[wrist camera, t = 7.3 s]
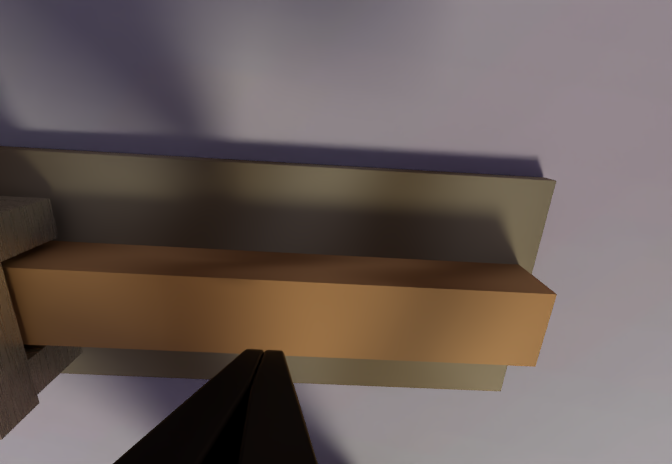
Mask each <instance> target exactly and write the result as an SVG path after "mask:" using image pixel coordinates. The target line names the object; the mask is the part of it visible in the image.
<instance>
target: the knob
mask: <svg viewBox="0 0 672 464" xmlns="http://www.w3.org/2000/svg"><path fill="white" fill-rule="evenodd" d="M57 237H58V233H57V229H56V224H55V219H54V215H53V210H52V205H51V200H50V198H33V197H15V196H0V440H2V439H3V438H4V437H5V436H6V435H7V434H8V433H9V432H10V431H11V430H12V429H13V428H14V427H15V426H16V425H17V424H18V423H19V422H20V421H21V420H22V419H24V418H25V417H26V416H27V415H28V414H29V413H30V412H31V411H32V410H33V409H34V408H35V407H36V406H37V405H38V404H39V399H38V396H37V395H38V394H39V393H40V392H41V391H42V390H43V389H44V388H45V387H46V386H47V385H48V384H49V383H50V382H51V381H53V380H54V379H55V378H56V377H57V376H58V375H59V374H60V373H61V372H62V371H63V370H64V369H65V368H66V367H67V366H69V365H70V364H71V363H72V362H73V361H74V360H75V359H76V358H77V357H78V356H79V355H80V354H81V353H82V352H83V351H82V347H73V346H49V345H26V344H23V341H22V338H21V334H20V331H19V327H18V323H17V320H16V316H15V313H14V309H13V305H12V302H11V298H10V294H9V291H8V287H7V284H6V280H5V276H4V273H3V269H2V265H1V262H2V261H4V260H6V259H9V258H11V257H13V256H16V255H18V254H20V253H23V252H25V251H27V250H29V249H32V248H34V247H36V246H39V245H41V244H43V243H46V242H48V241H50V240H52V239H55V238H57Z"/></svg>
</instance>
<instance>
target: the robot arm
mask: <svg viewBox="0 0 672 464" xmlns="http://www.w3.org/2000/svg"><path fill="white" fill-rule="evenodd" d="M113 464H318V463H317V460H316V456H315V453H314V450H313V446H312V443H311V440H310V437H309V433H308V430H307V427H306V423H305V420H304V417H303V414H302V410H301V407H300V404H299V400H298V397H297V394H296V391H295V387H294V384H293V381H292V377H291V374H290V371H289V368H288V364H287V361H286V358H285V354H284V352H283V351H282V350H266V351H265V352H264V350H262V349H246V350H244V351H243V352H242V353H241V354H239V355H238V356H237V357H236V358H235V359H234V360H232V361H231V362H230V363H229V364H228V365H227V366H225V367H224V368H223V369H222V370H221V371H220V372H219V373H217V374H216V375H215V376H214V377H213V378H212V379H210V380H209V381H208V382H207V383H206V384H205V385H203V386H202V387H201V388H200V389H199V390H198V391H197V392H195V393H194V394H193V395H192V396H191V397H190V398H188V399H187V400H186V401H185V402H184V403H183V404H181V405H180V406H179V407H178V408H177V409H176V410H175V411H173V412H172V413H171V414H170V415H169V416H168V417H166V418H165V419H164V420H163V421H162V422H161V423H159V424H158V425H157V426H156V427H155V428H154V429H153V430H151V431H150V432H149V433H148V434H147V435H146V436H144V437H143V438H142V439H141V440H140V441H139V442H137V443H136V444H135V445H134V446H133V447H132V448H131V449H129V450H128V451H127V452H126V453H125V454H124V455H122V456H121V457H120V458H119V459H118V460H117V461H115V462H114V463H113Z"/></svg>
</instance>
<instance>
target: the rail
mask: <svg viewBox="0 0 672 464" xmlns="http://www.w3.org/2000/svg"><path fill="white" fill-rule="evenodd" d="M555 184H556V181H555V180H551V179H548V178H543V177H525V176H508V175H491V174H473V173H456V172H439V171H422V170H404V169H387V168H370V167H352V166H335V165H318V164H301V163H283V162H266V161H249V160H232V159H214V158H197V157H180V156H162V155H145V154H128V153H111V152H93V151H76V150H59V149H41V148H24V147H7V146H0V196H15V197H33V198H50V200H51V205H52V210H53V215H54V219H55V224H56V229H57V233H58V237H57V238H55V239H52V240H50V241H48V242H46V243H43V244H41V245H39V246H36V247H34V248H32V249H29V250H27V251H25V252H23V253H20V254H18V255H16V256H13V257H11V258H9V259H6V260H4V261H2V262H1V265H2V269H3V273H4V276H5V280H6V284H7V287H8V291H9V294H10V298H11V302H12V305H13V309H14V313H15V316H16V320H17V323H18V327H19V331H20V334H21V338H22V341H23V344H26V345H49V346H73V347H82V351H83V352H82V353H81V354H80V355H79V356H78V357H77V358H76V359H75V360H74V361H73V362H72V363H71V364H70V365H69V366H67V367H66V368H65V369H64V370H63V371H62V372H61V373H69V374H93V375H117V376H142V377H166V378H191V379H212V378H213V377H214V376H215V375H216V374H217V373H219V372H220V371H221V370H222V369H223V368H224V367H225V366H227V365H228V364H229V363H230V362H231V361H232V360H234V359H235V358H236V357H237V356H238V355H239V354H241V353H242V352H243V351H244V350H246V349H262V350H264V352H265V351H266V350H282V351H283V352H284V354H285V358H286V361H287V364H288V368H289V371H290V374H291V377H292V381H293V383H312V384H337V385H361V386H385V387H410V388H434V389H458V390H483V391H501V388H502V384H503V380H504V376H505V372H506V369H507V365H513V366H536V362H537V359H538V356H539V352H540V349H541V346H542V342H543V339H544V335H545V332H546V329H547V325H548V322H549V319H550V315H551V312H552V309H553V305H554V302H555V298H556V295H557V294H555V293H554V292H553V291H552V290H550V289H549V288H548V287H547V286H545V285H544V284H543V283H542V282H540V281H539V280H538V279H537V278H535V277H534V276H533V275H531V274H532V270H533V267H534V263H535V259H536V255H537V252H538V248H539V244H540V240H541V237H542V233H543V229H544V225H545V221H546V218H547V214H548V210H549V206H550V203H551V199H552V195H553V191H554V187H555Z"/></svg>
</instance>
